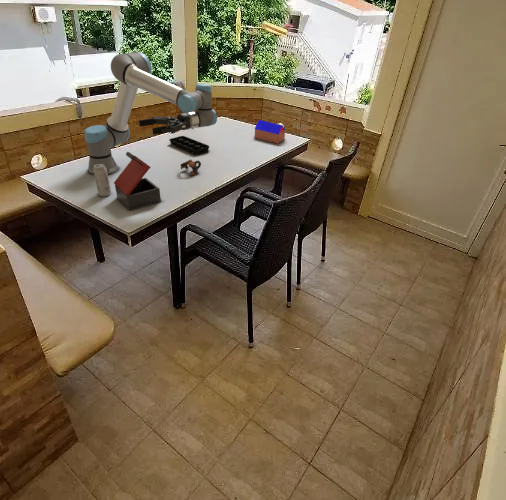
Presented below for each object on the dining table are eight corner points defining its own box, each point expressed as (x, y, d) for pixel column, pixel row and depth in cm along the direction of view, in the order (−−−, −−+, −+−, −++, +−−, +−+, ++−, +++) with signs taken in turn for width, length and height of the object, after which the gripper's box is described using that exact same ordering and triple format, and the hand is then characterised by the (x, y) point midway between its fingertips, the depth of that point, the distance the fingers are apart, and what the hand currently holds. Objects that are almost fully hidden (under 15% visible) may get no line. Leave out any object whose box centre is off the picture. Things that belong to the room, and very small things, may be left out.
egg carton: (199, 156, 223) (199, 150, 220) (163, 146, 234) (162, 141, 232) (215, 149, 235) (215, 143, 233) (180, 139, 247) (179, 134, 244)
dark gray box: (147, 190, 181) (145, 177, 176) (160, 201, 171) (159, 188, 167) (117, 197, 172) (114, 184, 168) (129, 210, 163) (127, 196, 159)
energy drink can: (109, 197, 172) (103, 168, 163) (97, 196, 172) (90, 168, 163) (112, 191, 177) (107, 163, 168) (100, 191, 176) (94, 163, 168)
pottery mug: (187, 177, 196) (181, 164, 193) (183, 178, 204) (176, 165, 202) (205, 169, 200) (199, 155, 197) (200, 170, 208) (194, 157, 206)
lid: (136, 156, 168) (124, 147, 162) (150, 167, 159) (138, 157, 153) (115, 184, 168) (102, 175, 162) (128, 196, 159) (114, 187, 153)
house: (277, 143, 251) (278, 127, 245) (253, 137, 260) (254, 121, 253) (285, 139, 260) (286, 123, 253) (262, 134, 268) (263, 118, 261)
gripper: (201, 136, 162) (159, 143, 151) (175, 122, 178) (135, 128, 166) (201, 119, 158) (158, 126, 147) (174, 107, 173) (133, 112, 162)
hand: (146, 127), depth 156 cm, fingers open, 13 cm apart
